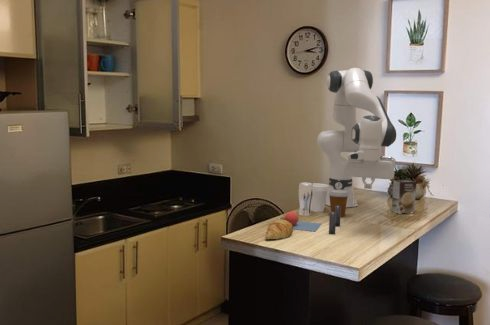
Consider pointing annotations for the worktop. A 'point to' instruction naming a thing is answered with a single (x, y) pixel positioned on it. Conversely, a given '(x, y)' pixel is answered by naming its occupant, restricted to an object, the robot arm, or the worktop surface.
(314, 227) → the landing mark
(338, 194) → the disposable coffee cup
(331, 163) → the robot arm
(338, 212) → the post
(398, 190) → the coffee box
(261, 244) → the worktop surface
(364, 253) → the worktop surface
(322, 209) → the foam cup
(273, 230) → the croissant
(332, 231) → the post
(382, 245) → the worktop surface
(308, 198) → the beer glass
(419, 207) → the worktop surface
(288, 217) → the ball
